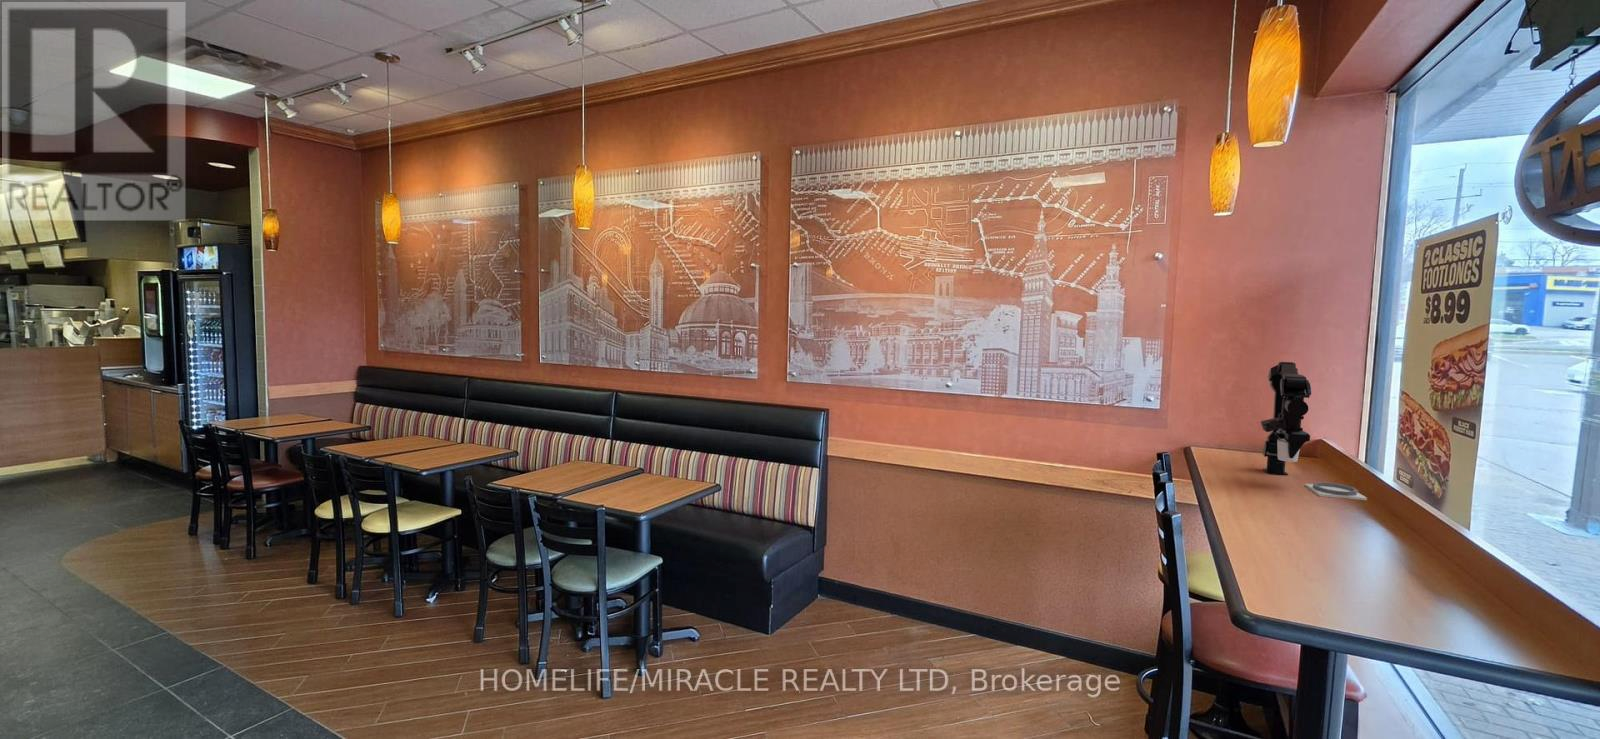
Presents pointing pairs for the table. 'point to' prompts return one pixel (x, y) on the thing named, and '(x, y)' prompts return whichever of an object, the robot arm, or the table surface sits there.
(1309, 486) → the coaster
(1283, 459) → the white cup
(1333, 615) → the table surface
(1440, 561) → the table surface
